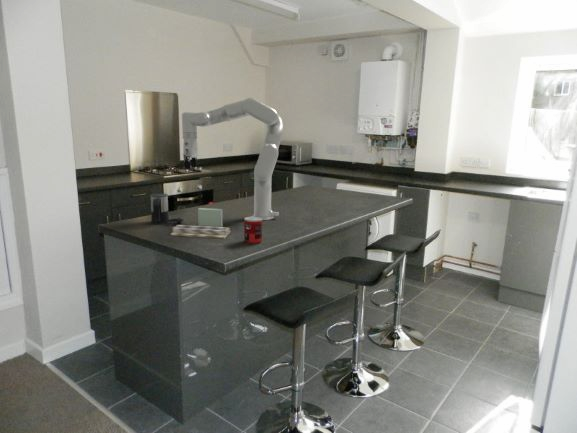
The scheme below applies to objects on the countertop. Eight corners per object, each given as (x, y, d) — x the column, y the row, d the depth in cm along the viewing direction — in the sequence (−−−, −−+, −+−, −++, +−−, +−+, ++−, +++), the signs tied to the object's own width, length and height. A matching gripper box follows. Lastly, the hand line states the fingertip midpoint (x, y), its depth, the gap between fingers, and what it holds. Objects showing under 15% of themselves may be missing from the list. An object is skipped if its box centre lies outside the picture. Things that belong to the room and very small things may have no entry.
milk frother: (150, 220, 224) (148, 193, 220) (180, 218, 230) (179, 192, 226) (153, 227, 211) (151, 198, 208) (184, 224, 217) (183, 196, 214)
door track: (230, 231, 206) (230, 226, 205) (224, 238, 194) (224, 232, 194) (179, 229, 208) (179, 223, 208) (170, 235, 197) (170, 229, 196)
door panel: (222, 226, 217) (222, 209, 215) (221, 227, 214) (220, 210, 212) (200, 224, 218) (199, 208, 216) (198, 226, 215) (197, 209, 213)
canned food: (244, 239, 193) (244, 216, 191) (261, 239, 194) (261, 216, 191) (244, 244, 186) (244, 220, 183) (262, 244, 186) (262, 220, 184)
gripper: (190, 136, 215) (191, 170, 219) (202, 135, 232) (202, 166, 236) (176, 136, 216) (177, 169, 220) (189, 135, 233) (190, 166, 237)
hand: (190, 168), depth 228 cm, fingers open, 9 cm apart
